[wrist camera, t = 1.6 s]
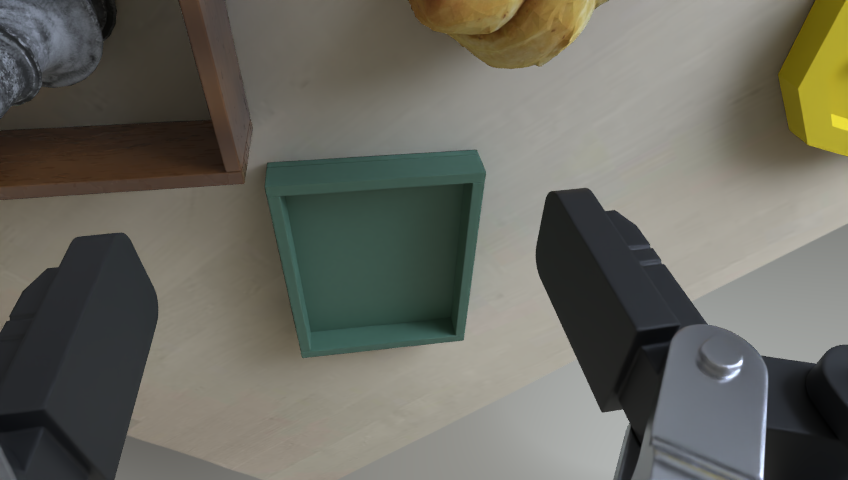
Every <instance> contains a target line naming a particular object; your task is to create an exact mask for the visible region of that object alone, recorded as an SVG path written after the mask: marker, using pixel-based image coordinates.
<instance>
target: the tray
mask: <svg viewBox="0 0 848 480" xmlns="http://www.w3.org/2000/svg"><path fill="white" fill-rule="evenodd" d="M485 176H486V171H485V169H484V166H483V164H482V161H481V159H480V156H479V154H478V152H477V150H466V151H450V152H434V153H417V154H401V155H385V156H369V157H352V158H336V159H320V160H304V161H287V162H271V163H267V170H266V179H265V192H266V196H267V200H268V205H269V209H270V214H271V218H272V223H273V227H274V232H275V236H276V241H277V246H278V250H279V255H280V259H281V264H282V268H283V273H284V277H285V282H286V286H287V291H288V296H289V300H290V305H291V309H292V314H293V318H294V323H295V327H296V332H297V336H298V341H299V346H300V350H301V355H302V358H307V357H316V356H325V355H334V354H344V353H353V352H362V351H371V350H380V349H389V348H398V347H407V346H417V345H426V344H435V343H444V342H453V341H462V340H464V333H465V326H466V318H467V311H468V303H469V296H470V288H471V281H472V273H473V265H474V258H475V250H476V243H477V235H478V228H479V220H480V213H481V205H482V198H483V190H484V182H485Z"/></svg>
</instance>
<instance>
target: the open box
mask: <svg viewBox="0 0 848 480" xmlns="http://www.w3.org/2000/svg"><path fill="white" fill-rule="evenodd" d="M178 1H179V5H180V8H181V12H182V15H183V19H184V23H185V26H186V30H187V34H188V37H189V41H190V44H191V48H192V52H193V55H194V59H195V62H196V66H197V70H198V73H199V77H200V81H201V84H202V88H203V91H204V95H205V99H206V102H207V106H208V110H209V113H210V117H211V120H201V121H182V122H162V123H142V124H122V125H102V126H83V127H63V128H43V129H23V130H4V131H0V200H8V199H23V198H38V197H53V196H68V195H83V194H98V193H113V192H128V191H143V190H158V189H174V188H189V187H204V186H219V185H234V184H244V183H245V176H246V170H247V164H248V157H249V151H250V144H251V138H252V132H253V127H252V122H251V119H250V114H249V109H248V104H247V100H246V95H245V91H244V86H243V81H242V77H241V72H240V68H239V63H238V59H237V54H236V49H235V45H234V40H233V36H232V31H231V27H230V22H229V17H228V13H227V8H226V4H225V0H178Z"/></svg>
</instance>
